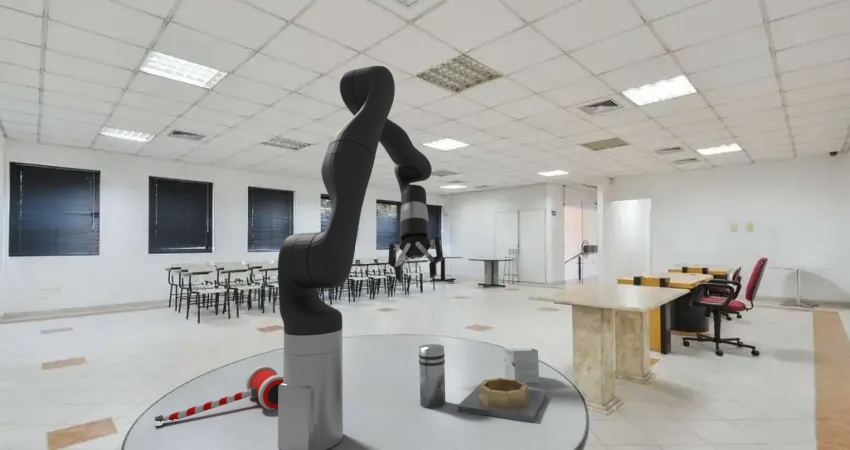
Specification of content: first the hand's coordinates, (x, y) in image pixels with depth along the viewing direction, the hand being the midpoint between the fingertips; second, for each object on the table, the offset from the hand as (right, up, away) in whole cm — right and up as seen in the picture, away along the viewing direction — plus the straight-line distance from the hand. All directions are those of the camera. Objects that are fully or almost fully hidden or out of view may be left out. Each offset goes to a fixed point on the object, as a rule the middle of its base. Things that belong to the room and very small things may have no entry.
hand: (416, 279), depth 100 cm
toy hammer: (-35, -23, -22) cm, 47 cm away
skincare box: (+25, -22, -8) cm, 35 cm away
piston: (+4, -21, -22) cm, 31 cm away
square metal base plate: (+18, -21, -23) cm, 36 cm away
